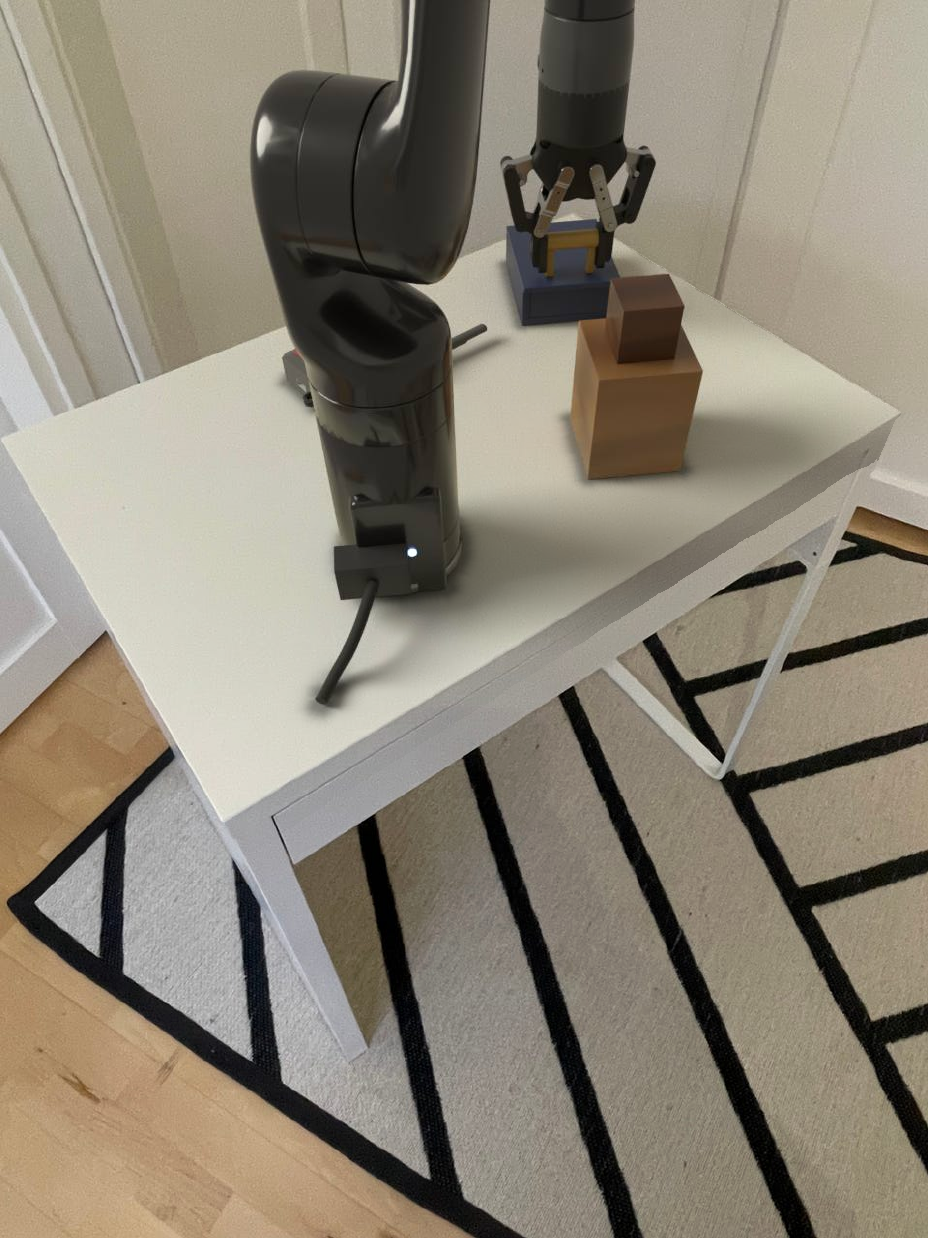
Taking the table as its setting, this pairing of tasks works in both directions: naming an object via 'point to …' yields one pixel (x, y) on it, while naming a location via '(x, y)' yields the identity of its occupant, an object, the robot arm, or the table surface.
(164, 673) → the table surface
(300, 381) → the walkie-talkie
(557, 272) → the cover
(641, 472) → the stand
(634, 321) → the block
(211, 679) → the table surface
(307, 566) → the table surface
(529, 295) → the navy jewelry box
